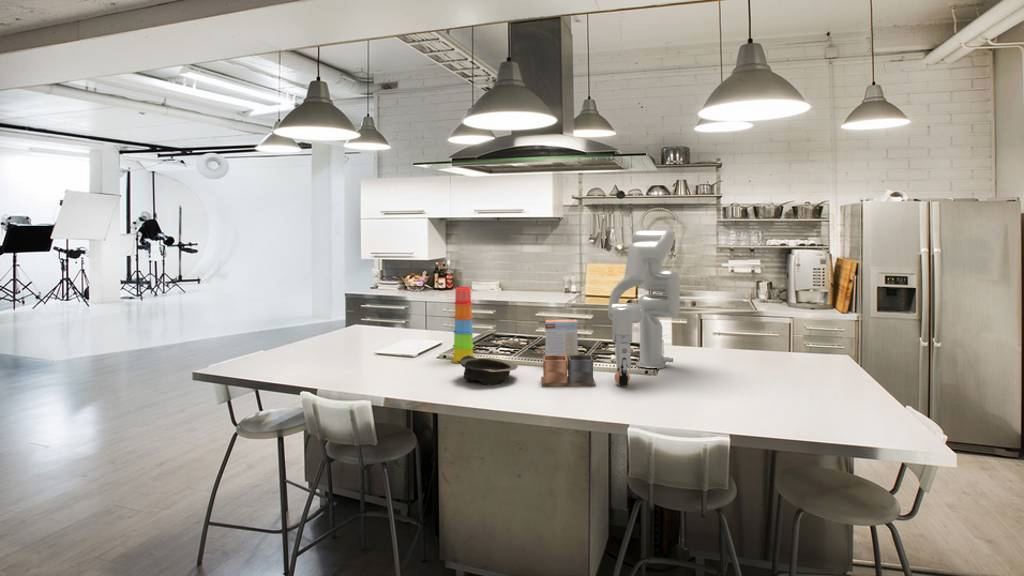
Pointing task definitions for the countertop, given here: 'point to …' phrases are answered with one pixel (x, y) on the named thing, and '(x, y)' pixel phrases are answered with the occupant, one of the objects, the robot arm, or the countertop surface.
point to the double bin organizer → (577, 371)
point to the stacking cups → (463, 324)
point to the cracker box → (561, 337)
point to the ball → (619, 375)
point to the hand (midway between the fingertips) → (622, 383)
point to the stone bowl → (486, 369)
